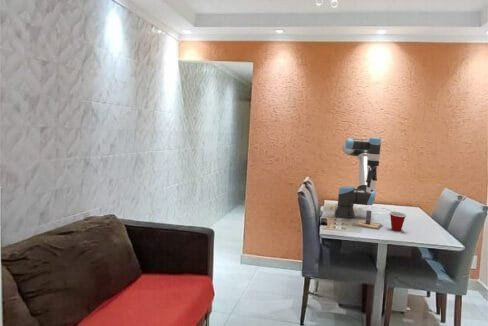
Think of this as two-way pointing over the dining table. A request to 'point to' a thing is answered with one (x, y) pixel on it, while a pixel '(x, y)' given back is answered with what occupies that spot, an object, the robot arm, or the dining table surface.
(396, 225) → the plastic cup
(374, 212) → the dining table surface
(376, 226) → the lid
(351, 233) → the dining table surface
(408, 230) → the dining table surface
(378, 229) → the mat
